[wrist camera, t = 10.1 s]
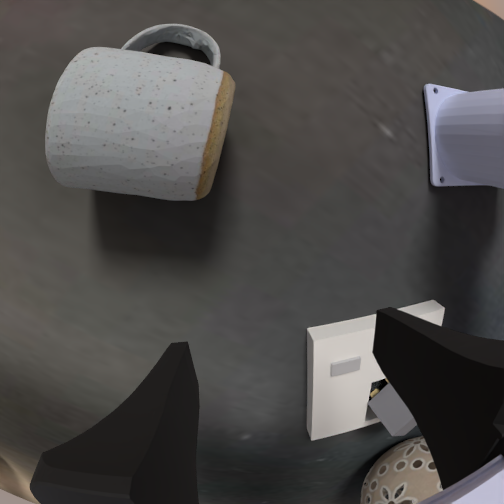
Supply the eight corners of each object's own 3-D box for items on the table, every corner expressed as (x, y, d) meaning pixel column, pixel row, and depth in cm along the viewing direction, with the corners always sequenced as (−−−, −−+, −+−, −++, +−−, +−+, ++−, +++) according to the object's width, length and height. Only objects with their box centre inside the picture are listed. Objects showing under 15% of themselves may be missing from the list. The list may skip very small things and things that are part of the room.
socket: (433, 299, 24) (446, 309, 22) (411, 396, 28) (420, 408, 26) (306, 328, 23) (314, 343, 21) (306, 427, 27) (311, 443, 25)
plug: (392, 368, 24) (425, 406, 20) (404, 374, 26) (434, 408, 22) (362, 397, 25) (392, 436, 21) (377, 400, 27) (404, 435, 23)
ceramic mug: (210, 198, 19) (209, 220, 12) (89, 180, 18) (28, 193, 11) (244, 43, 17) (264, -15, 9) (125, 29, 15) (88, -26, 8)
